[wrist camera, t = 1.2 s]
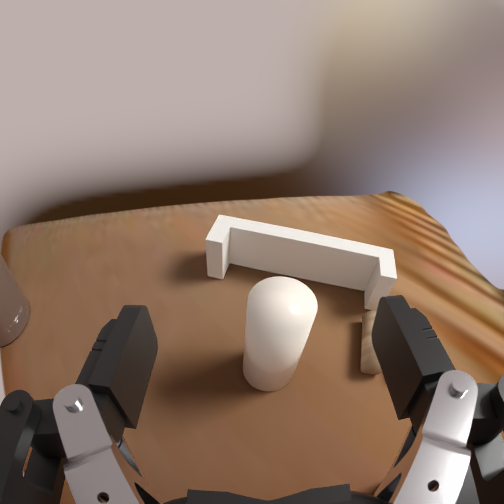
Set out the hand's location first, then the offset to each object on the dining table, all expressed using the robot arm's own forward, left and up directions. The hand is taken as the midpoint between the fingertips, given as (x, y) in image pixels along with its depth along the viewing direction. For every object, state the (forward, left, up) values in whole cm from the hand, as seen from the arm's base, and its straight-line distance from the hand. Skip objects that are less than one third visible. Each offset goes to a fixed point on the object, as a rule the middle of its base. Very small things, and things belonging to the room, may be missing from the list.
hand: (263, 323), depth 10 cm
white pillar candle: (0, +9, -20) cm, 22 cm away
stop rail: (+1, +22, -20) cm, 30 cm away
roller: (+11, +14, -20) cm, 27 cm away
